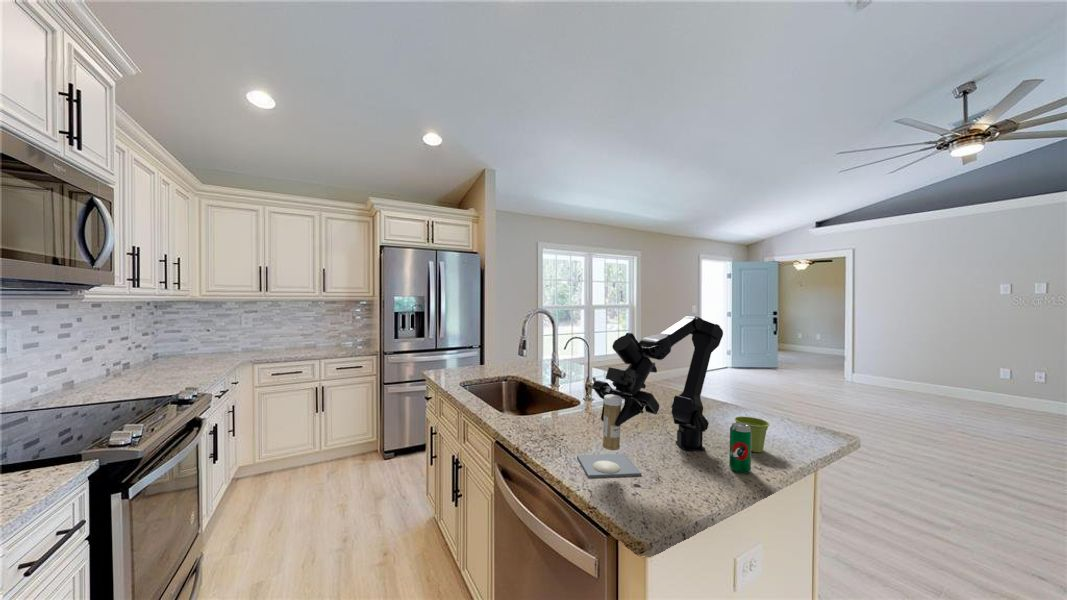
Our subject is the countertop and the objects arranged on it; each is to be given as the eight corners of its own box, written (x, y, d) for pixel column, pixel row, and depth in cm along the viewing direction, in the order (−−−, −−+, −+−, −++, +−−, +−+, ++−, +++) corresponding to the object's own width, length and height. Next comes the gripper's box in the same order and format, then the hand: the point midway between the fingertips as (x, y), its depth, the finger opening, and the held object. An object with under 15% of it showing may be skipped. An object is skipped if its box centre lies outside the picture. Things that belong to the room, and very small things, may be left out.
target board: (624, 455, 107) (624, 452, 107) (641, 475, 95) (641, 472, 95) (577, 457, 105) (577, 454, 105) (588, 477, 93) (588, 474, 93)
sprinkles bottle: (618, 452, 94) (620, 399, 93) (600, 449, 95) (602, 397, 95) (621, 445, 98) (623, 395, 97) (603, 442, 99) (605, 392, 99)
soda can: (755, 473, 97) (756, 428, 97) (738, 474, 96) (738, 429, 96) (741, 465, 102) (742, 421, 102) (724, 466, 101) (725, 422, 101)
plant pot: (726, 445, 116) (727, 417, 116) (747, 441, 120) (748, 414, 120) (754, 457, 108) (755, 427, 108) (776, 452, 111) (776, 423, 111)
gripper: (596, 351, 106) (568, 396, 99) (653, 361, 91) (624, 414, 85) (614, 375, 111) (588, 419, 104) (670, 388, 96) (644, 440, 89)
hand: (608, 422), depth 96 cm, fingers closed on sprinkles bottle, 4 cm apart
